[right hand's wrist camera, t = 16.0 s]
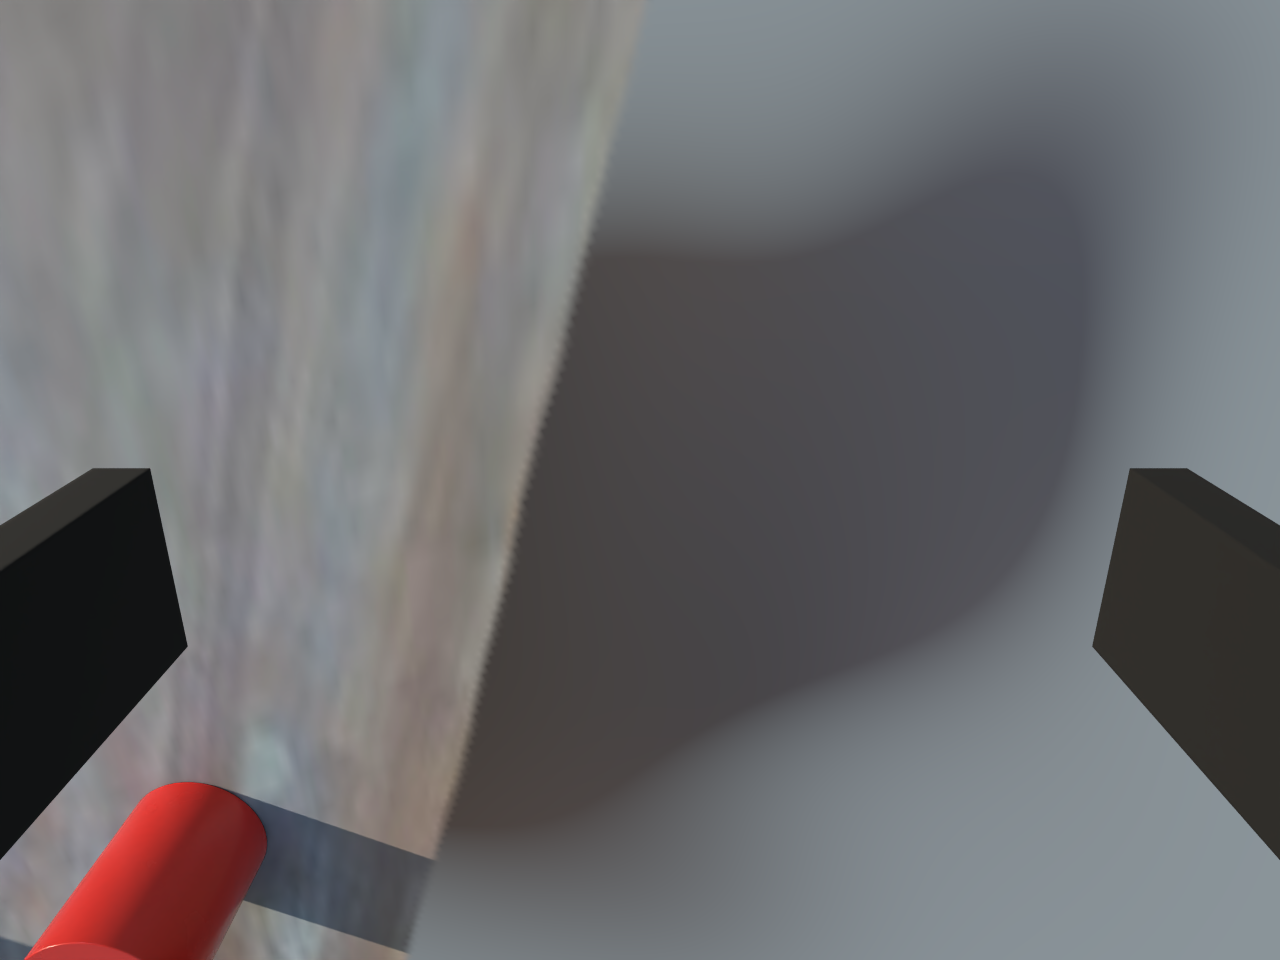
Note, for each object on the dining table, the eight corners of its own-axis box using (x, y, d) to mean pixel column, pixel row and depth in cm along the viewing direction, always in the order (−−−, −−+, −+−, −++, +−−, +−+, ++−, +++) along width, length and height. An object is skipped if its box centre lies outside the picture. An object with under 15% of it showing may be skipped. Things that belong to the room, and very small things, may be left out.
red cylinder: (110, 792, 49) (-18, 955, 39) (240, 772, 48) (142, 932, 39) (161, 894, 52) (53, 1070, 42) (285, 875, 51) (204, 1049, 42)
